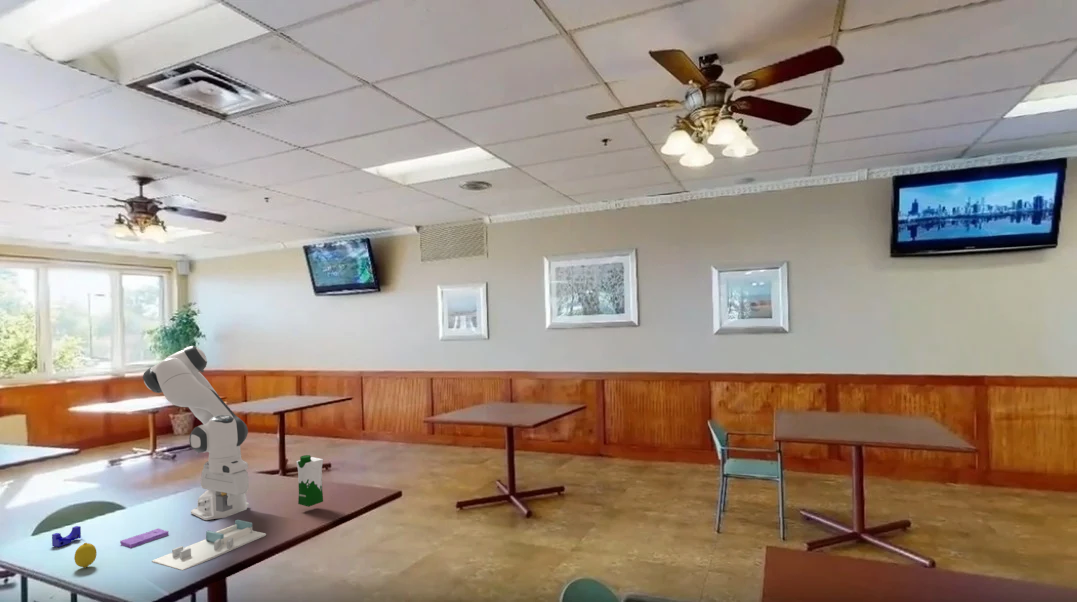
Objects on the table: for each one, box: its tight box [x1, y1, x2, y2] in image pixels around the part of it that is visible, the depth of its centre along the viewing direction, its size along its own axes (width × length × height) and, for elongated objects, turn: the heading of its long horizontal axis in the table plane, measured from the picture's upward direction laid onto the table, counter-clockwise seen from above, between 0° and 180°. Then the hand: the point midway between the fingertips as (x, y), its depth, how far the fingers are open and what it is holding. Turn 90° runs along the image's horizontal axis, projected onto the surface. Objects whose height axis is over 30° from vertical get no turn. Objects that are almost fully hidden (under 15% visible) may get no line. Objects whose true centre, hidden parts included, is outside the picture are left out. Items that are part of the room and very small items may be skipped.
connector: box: [216, 492, 232, 512], centre depth 193 cm, size 4×4×6 cm
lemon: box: [73, 542, 97, 569], centre depth 180 cm, size 6×6×8 cm
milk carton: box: [295, 454, 324, 508], centre depth 236 cm, size 9×9×20 cm
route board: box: [151, 530, 267, 571], centre depth 193 cm, size 16×30×3 cm, turn 154°
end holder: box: [205, 519, 253, 545], centre depth 201 cm, size 8×12×3 cm, turn 154°
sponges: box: [119, 528, 169, 548], centre depth 202 cm, size 7×13×2 cm, turn 150°
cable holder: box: [51, 525, 82, 548], centre depth 202 cm, size 8×4×4 cm, turn 161°
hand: (224, 504), depth 193 cm, fingers closed on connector, 3 cm apart
